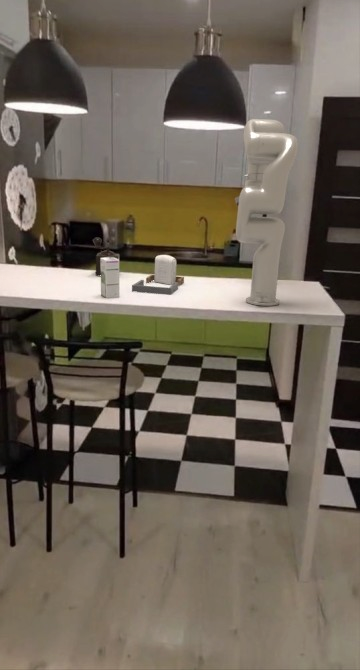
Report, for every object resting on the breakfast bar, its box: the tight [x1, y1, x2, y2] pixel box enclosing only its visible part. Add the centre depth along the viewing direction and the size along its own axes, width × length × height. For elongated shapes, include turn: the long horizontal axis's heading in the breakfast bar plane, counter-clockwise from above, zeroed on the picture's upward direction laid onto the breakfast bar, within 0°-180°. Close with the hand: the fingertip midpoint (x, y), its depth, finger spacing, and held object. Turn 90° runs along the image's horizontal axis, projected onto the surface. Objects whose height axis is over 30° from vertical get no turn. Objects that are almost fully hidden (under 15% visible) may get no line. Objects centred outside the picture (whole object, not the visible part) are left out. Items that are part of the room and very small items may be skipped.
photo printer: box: [153, 254, 177, 286], centre depth 222 cm, size 10×4×12 cm, turn 54°
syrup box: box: [100, 257, 120, 299], centre depth 191 cm, size 6×6×14 cm
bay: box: [131, 279, 179, 295], centre depth 208 cm, size 14×16×2 cm
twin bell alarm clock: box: [92, 236, 120, 276], centre depth 234 cm, size 16×11×18 cm
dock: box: [145, 274, 185, 287], centre depth 224 cm, size 9×15×2 cm, turn 78°
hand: (252, 218), depth 225 cm, fingers open, 9 cm apart
